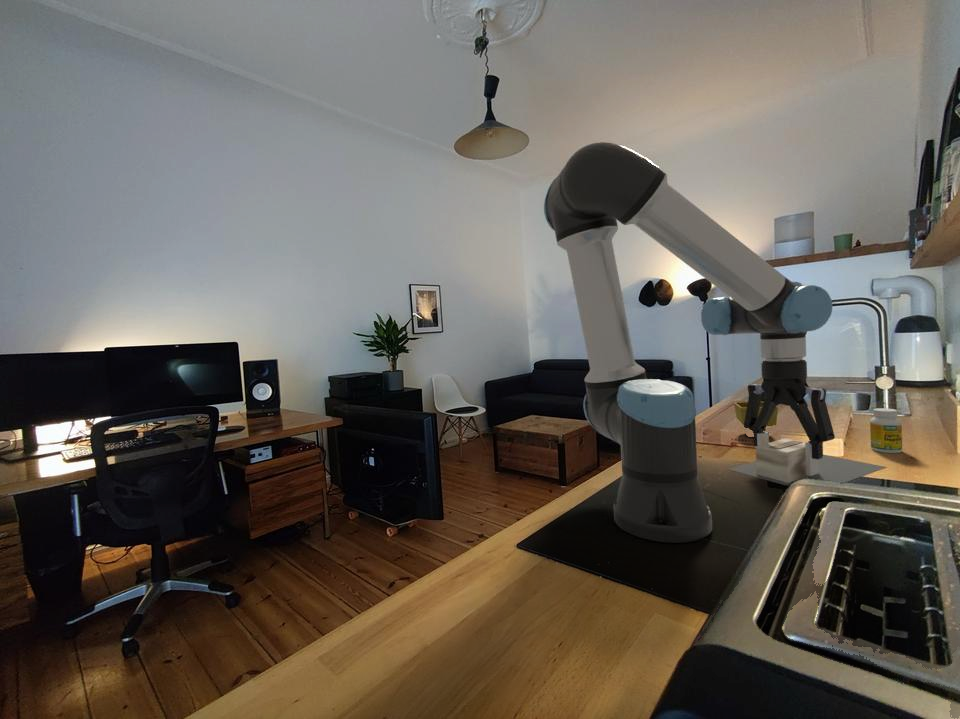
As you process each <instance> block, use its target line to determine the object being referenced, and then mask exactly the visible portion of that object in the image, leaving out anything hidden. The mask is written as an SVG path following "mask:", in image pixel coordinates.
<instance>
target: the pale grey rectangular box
mask: <svg viewBox="0 0 960 719" xmlns="http://www.w3.org/2000/svg"><path fill="white" fill-rule="evenodd" d="M805 442H806V441H803V440H798V439H791V438H782V439H777V440H774V441H771V442H770V441H769V443H766V444H762V445H759V446H756V447H755V454H756V456H755V457H756V458H755V459H756V460H755V461H756V462H757V475H761V476H764V477H768V478H772V479H776V480H779V481H783V482H787V483H789V482H792V481H795V480H798V479H801V478H803V477H807V476H809V475H806V450H805Z"/></svg>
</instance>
